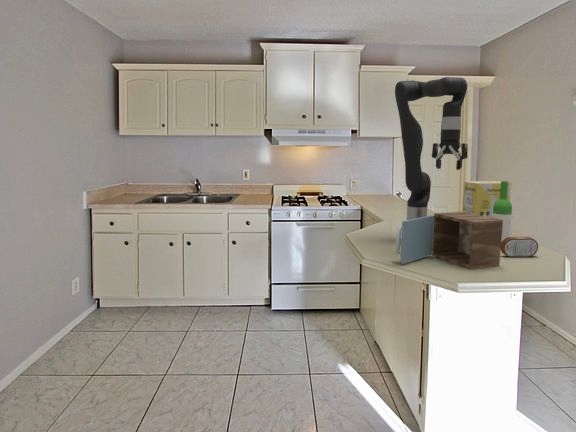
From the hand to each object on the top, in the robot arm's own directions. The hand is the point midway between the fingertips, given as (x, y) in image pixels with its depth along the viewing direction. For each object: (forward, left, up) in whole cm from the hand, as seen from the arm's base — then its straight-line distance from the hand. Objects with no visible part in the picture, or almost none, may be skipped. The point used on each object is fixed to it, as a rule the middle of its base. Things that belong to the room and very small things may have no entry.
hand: (448, 169), depth 185 cm
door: (-5, -16, -35) cm, 39 cm away
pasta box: (-4, +46, -36) cm, 59 cm away
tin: (+22, +22, -36) cm, 48 cm away
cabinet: (+10, -2, -36) cm, 37 cm away
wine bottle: (+9, +34, -36) cm, 51 cm away
